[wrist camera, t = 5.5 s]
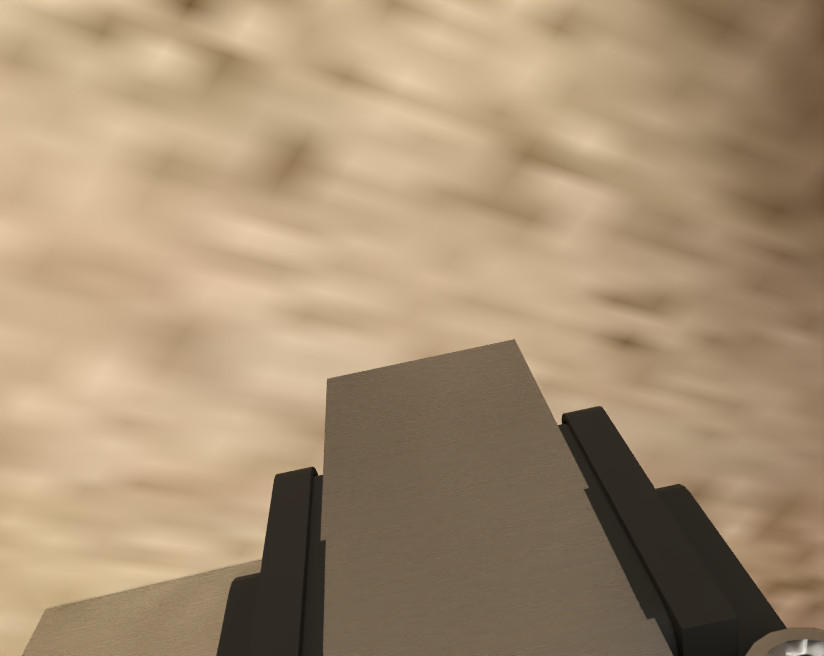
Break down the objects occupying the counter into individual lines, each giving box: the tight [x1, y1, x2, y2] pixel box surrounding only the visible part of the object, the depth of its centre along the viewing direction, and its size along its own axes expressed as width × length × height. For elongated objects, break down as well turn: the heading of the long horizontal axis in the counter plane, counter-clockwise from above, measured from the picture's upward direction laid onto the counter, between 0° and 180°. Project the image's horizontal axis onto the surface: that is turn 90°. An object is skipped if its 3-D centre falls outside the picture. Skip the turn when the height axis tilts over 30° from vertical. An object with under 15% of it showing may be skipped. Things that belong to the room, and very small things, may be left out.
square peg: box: [320, 339, 673, 656], centre depth 9 cm, size 3×3×9 cm
